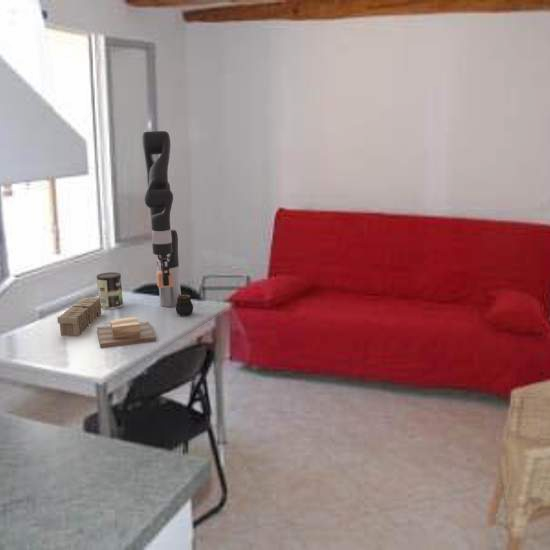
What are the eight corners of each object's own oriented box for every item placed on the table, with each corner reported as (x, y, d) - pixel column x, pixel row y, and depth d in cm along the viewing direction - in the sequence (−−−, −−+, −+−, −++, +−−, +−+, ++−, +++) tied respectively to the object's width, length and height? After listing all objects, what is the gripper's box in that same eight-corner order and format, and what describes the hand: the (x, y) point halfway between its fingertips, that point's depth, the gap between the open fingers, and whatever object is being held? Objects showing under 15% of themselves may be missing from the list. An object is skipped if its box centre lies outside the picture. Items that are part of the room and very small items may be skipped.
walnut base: (97, 331, 257) (95, 317, 255) (148, 324, 262) (147, 311, 261) (100, 347, 238) (99, 333, 237) (155, 340, 244) (154, 326, 243)
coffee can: (125, 302, 295) (123, 271, 292) (120, 309, 285) (117, 277, 282) (102, 302, 296) (100, 272, 292) (96, 309, 285) (93, 278, 282)
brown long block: (84, 316, 280) (58, 337, 251) (82, 297, 278) (56, 316, 250) (102, 316, 279) (78, 337, 251) (100, 297, 278) (76, 315, 249)
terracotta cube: (157, 284, 259) (156, 271, 257) (170, 283, 260) (170, 269, 259) (159, 288, 254) (158, 274, 252) (173, 286, 255) (172, 272, 254)
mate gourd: (195, 312, 278) (194, 289, 275) (190, 317, 270) (189, 294, 268) (179, 311, 279) (178, 289, 276) (173, 317, 272) (172, 294, 269)
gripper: (174, 243, 247) (177, 287, 251) (168, 237, 260) (171, 278, 264) (154, 245, 245) (158, 289, 249) (149, 238, 258) (152, 280, 262)
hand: (165, 283), depth 257 cm, fingers closed on terracotta cube, 5 cm apart
